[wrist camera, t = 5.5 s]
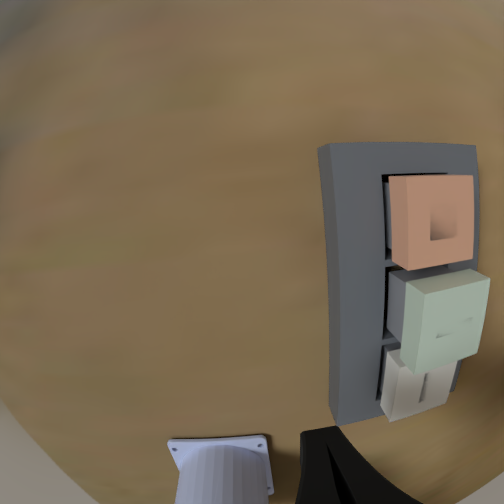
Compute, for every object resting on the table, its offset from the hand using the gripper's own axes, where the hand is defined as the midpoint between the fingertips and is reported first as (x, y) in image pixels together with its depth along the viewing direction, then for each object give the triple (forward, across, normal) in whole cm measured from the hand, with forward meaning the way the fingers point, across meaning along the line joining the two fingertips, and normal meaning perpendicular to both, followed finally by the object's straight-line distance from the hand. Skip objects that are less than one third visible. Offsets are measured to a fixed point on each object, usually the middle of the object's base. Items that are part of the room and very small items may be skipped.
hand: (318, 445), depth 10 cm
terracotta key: (+9, -8, -7) cm, 14 cm away
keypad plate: (+10, -8, -2) cm, 13 cm away
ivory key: (+9, -8, +3) cm, 13 cm away
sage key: (+8, -8, -2) cm, 11 cm away
